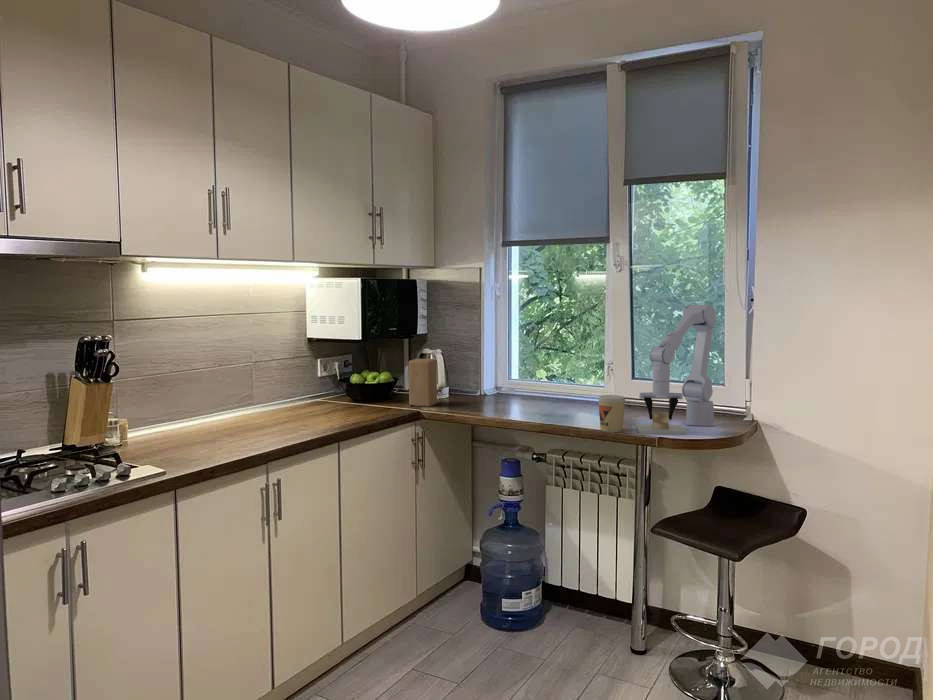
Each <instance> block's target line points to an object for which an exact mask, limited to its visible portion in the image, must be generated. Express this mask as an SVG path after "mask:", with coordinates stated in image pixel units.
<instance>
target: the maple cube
mask: <svg viewBox="0 0 933 700" xmlns="http://www.w3.org/2000/svg"><path fill="white" fill-rule="evenodd" d="M651 421H652V422H651V424H652V426H653V428H654V429H669V425H670V419H669V412H666V411H665V412H662V411H658V412H657V411H656V412H655V411H652V419H651Z"/></svg>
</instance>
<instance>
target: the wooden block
mask: <svg viewBox="0 0 933 700" xmlns="http://www.w3.org/2000/svg"><path fill="white" fill-rule="evenodd" d="M437 363H438V362H437V359H436V358H415V359H411V360H409V361H408V395H409V396H408V401H409V402H408V404H409V406H410V405H415V406H414V407H418V406H428V407H427V408H430V407H432V406H434V405H436V404H438V366H437V365H438V364H437ZM429 406H430V407H429Z"/></svg>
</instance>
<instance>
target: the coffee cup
mask: <svg viewBox="0 0 933 700" xmlns="http://www.w3.org/2000/svg"><path fill="white" fill-rule="evenodd" d="M598 397H599V398H597V399H598V411H599V428H600V431H601V430H602V432H605V433H620V431H621V432H622V431H623V428H624V427H623V426H624V415H625V406H626V403H625V402H626V398H625V396H624V395H620V394H619V395H617V394H603V395H599V396H598Z"/></svg>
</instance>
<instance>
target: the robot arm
mask: <svg viewBox="0 0 933 700" xmlns="http://www.w3.org/2000/svg"><path fill="white" fill-rule="evenodd" d="M716 317H717V312H716V309H715V307H714V306H713V305H711V304H688V305H686V306H685V307H684V309H683V310H682V317H681V318H680V321H679V322H678V323H677V325H676V326H675V328H674V330H673V331H668V332H667V333H666V334H665V337H663V339H662V340H661V342H660V343H659V344H658V346H654V347H653V348H651V350H650V352H649V360H650V362H651V368H652V392H650V391H648V392H639V399H642V400H643V401H644V404H645V405H646V408H647V411H648V416H649V420H652V412H653V403H654V402H653V400H654V399H655V400H656V399H657V400H666V399H667V400H668V405H669V407H668V414H669V421H671V420H673V414H674V412H675V409H676V407H677V405H678V403H679V400H683V399H684V400H686V415H685V416H686V418H685V420H683V423H684V424H685V425H686V426H691V427H692V426H698V427H699V426H700V427H701V426H702V427H705V426H706V427H707V426H708V427H714V426H715V425H714V414H715V413H714V411H715V410H714V408H715V406H714V405H715V404H714V401H713V400H710V399H711V398H712V397H713V392H714V391H713V381H712V378H710V377H709V376H708V375H707V372H708V366H709V359H710V351H711V346H712V338H713V332H714V331H713V330H714V328H715V324H716V323H715V322H716ZM691 327H692V328H695V330H696V339H695V346H694V353H693V361H692V367H691V372H690V373H689V374H688V375H687V376H686V377H685V378H684V382H683V384H682V386H681V392H670V374H671V373H670V372H671V371H670V370H671V363H672V362H673V361H674V359H675V357H674V356H675V354H676V351H677V349H678V348H679V346H680V345H681V344H682V343H683V336H684V335H685V334H686V333H687V332H688V331H689V330H690V329H691ZM683 397H684V398H683Z"/></svg>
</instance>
